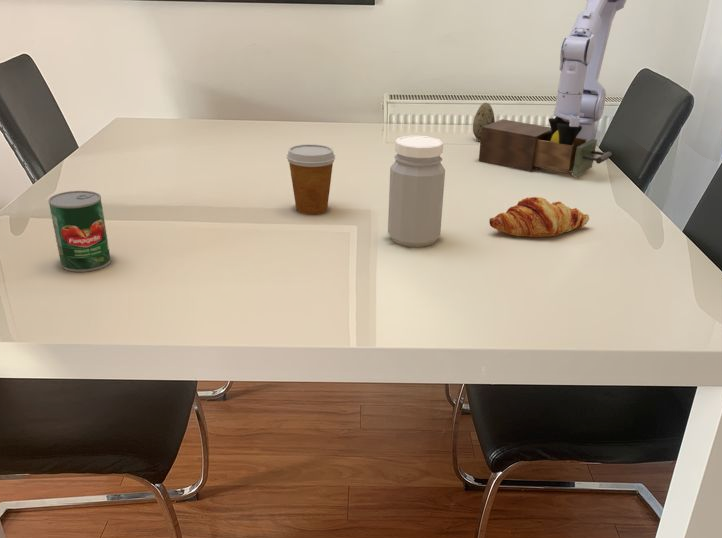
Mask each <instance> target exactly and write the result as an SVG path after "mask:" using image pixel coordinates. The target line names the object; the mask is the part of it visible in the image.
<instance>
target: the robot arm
mask: <svg viewBox="0 0 722 538" xmlns="http://www.w3.org/2000/svg"><path fill="white" fill-rule="evenodd" d="M626 3H627V0H586V4H585V8H584V10H582V11H580V12H579V13H578V15H577V16H576V19H575V22H574V23H573V26H572V28H571V31H570V33H569V35H568V36H567V37H564V38H563V40H562V42H561V45H560V55H559V56H560V58H559V59H560V62H559V71H560V75H559V83H558V86H557V87H558V88H557V93H556V100H555V106H554V110H553V113H552V114H553V116H554V118H553V117H552V118H551V117H550V118H548V122H549V123H548V124H549V127H551V132H552V136H553V134H554V133H555V132H556V131H557V130H558V132H559V143H560V144H567V145H573V142H574V140H575V138H576V137H577V138H583V139H586V142H588V141H590V140H591V139H595V140H596V138H597V131H598V127H597V124H596V122H598V121H600V120H601V119H602V116H603V113H604V111H605V110H604V109H605V104H606V96H607V92H606V89H605V88H604V86H603V85H602V83H600V81H599V78H600V73H601V69H602V65H603V61H604V57H605V52H606V49H607V45H608V42H609V41H608V40H609V37H610V34H611V33H610V32H611V28H612V25H613V21H614V18H615V16H616V13H617V12H618V11H620V10H622V9H624V8H625V5H626ZM595 155H596V154H594V156H595Z"/></svg>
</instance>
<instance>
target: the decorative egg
mask: <svg viewBox="0 0 722 538" xmlns="http://www.w3.org/2000/svg"><path fill="white" fill-rule="evenodd" d="M495 119H496V118H495V113H494V110H493V107H492V105H491V104H490V103H488V102H483V103H482V104H480V106H479V107H478V109H477V111H476V113H475V116H474V118H473V122H472V133H473V135H474V137H475V138H476V140H478V141H479V142H481V131H482V127H483V126H486V125H488V124H491V123H494V122H496V120H495Z"/></svg>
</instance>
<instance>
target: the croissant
mask: <svg viewBox="0 0 722 538" xmlns="http://www.w3.org/2000/svg"><path fill="white" fill-rule="evenodd" d="M589 221H590V216H589V214H586V213H585V214H584V213H583V212H582V211H581V210H580V209H578V208H576V207H575V208H571V207H570V206H567V205H565V203H563V202H562V201H555V202H552V203H551V202H550V201H548V200H547V199H546V198H545V197H539V196H531V197H526V198H522V199H521V200H518V202H517V204H516V205H513V206H510V207H509V208H508V209H506V212H500V213H498V214H497V215H496V216H494V217H489V222H488V223H489V226H490V227H491V228H493V229H495V230H497V232H502V233H506V234H507V235H510V236H515V237H529V238H541V237H554V236H558V235H562V234H563V233H568V232H572V231H573V230H575V229H580V228H582V227H584V226H585V225H587V224H588V222H589Z"/></svg>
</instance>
